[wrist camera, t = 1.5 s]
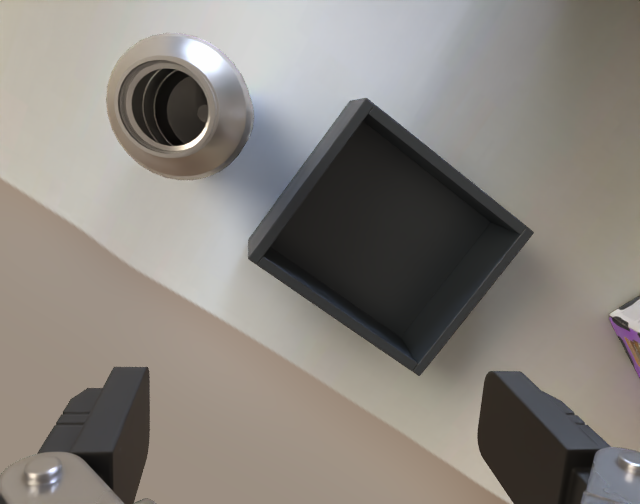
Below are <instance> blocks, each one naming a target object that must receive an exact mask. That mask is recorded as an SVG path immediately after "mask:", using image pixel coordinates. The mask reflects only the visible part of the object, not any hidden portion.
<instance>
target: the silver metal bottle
mask: <svg viewBox="0 0 640 504" xmlns="http://www.w3.org/2000/svg"><path fill="white" fill-rule="evenodd" d="M106 103H107V113H108V117H109V121H110V124H111V127H112V130H113V132H114V134H115V136H116V138H117V140H118V142H119V143H120V144H121V146H122V147H123V148H124V150H125V151H126V152H127V154H128V155H129V156H131V157H132V158H133V159H134V160H135V161H136V162H137V163H138V164H140V165H141V166H143V167H144V168H146V169H147V170H149V171H151V172H153V173H155V174H158V175H160V176H163V177H166V178H171V179H176V180H196V179H201V178H206V177H208V176H211V175H213V174H215V173H218V172H220V171H221V170H222V169H224V168H225V167H227V166H228V165H229V164H230V163H231V162H232V161H233V160H234V159H235V158H236V157H237V156H238V155H239V153H240V152H241V150H242V148H243V147H244V145H245V144H246V142H247V141H248V139H249V137H250V134H251V131H252V128H253V121H254V113H253V105H252V101H251V98H250V95H249V91H248V88H247V85H246V83H245V81H244V79H243V76H242V74H241V73H240V71H239V70H238V68H237V67H236V66H235V64H234V63H233V62H232V61H231V60H230V58H229V57H228V56H227V55H226V54H225V53H224V52H223V51H221V50H220V49H218V48H217V47H215V46H214V45H213V44H211V43H209V42H207V41H205V40H203V39H201V38H198V37H196V36H192V35H187V34H183V33H163V34H157V35H152V36H150V37H148V38H145V39H143V40H140V41H139V42H137V43H136V44H134V45H133V46H132V47H130V48H129V49H128V50H127V51H126V52H125V53H124V54H123V55H122V56H121V57H120V59H119V60H118V62H117V63H116V65H115V67H114V69H113V70H112V73H111V76H110V79H109V82H108V86H107V96H106Z"/></svg>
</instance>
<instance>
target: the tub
mask: <svg viewBox="0 0 640 504" xmlns="http://www.w3.org/2000/svg"><path fill="white" fill-rule="evenodd" d="M533 233H534V232H533V231H532V230H530V229H529V228H528V227H527V226H526V225H524V224H523V223H522V222H521V221H519V220H518V219H517V218H516V217H514V216H513V215H512V214H511V213H509V212H508V211H507V210H506V209H504V208H503V207H502V206H501V205H499V204H498V203H497V202H496V201H495V200H493V199H492V198H491V197H490V196H488V195H487V194H486V193H485V192H483V191H482V190H481V189H480V188H478V187H477V186H476V185H475V184H473V183H472V182H471V181H470V180H468V179H467V178H466V177H465V176H463V175H462V174H461V173H460V172H458V171H457V170H456V169H455V168H453V167H452V166H451V165H450V164H448V163H447V162H446V161H445V160H443V159H442V158H441V157H440V156H438V155H437V154H436V153H435V152H433V151H432V150H431V149H430V148H429V147H427V146H426V145H425V144H424V143H422V142H421V141H420V140H419V139H417V138H416V137H415V136H414V135H412V134H411V133H410V132H409V131H407V130H406V129H405V128H404V127H402V126H401V125H400V124H399V123H397V122H396V121H395V120H394V119H392V118H391V117H390V116H389V115H387V114H386V113H385V112H384V111H382V110H381V109H380V108H379V107H377V106H376V105H374V103H372V102H371V101H370V100H369V99H367V98H363V99H357V100H352V101H349V103H348V104H347V106H346V107H345V108H344V110H343V111H342V112H341V114H340V115H339V116H338V118H337V119H336V121H335V122H334V123H333V125H332V126H331V127H330V129H329V130H328V132H327V133H326V134H325V136H324V137H323V138H322V140H321V141H320V142H319V144H318V145H317V147H316V148H315V149H314V151H313V152H312V153H311V155H310V156H309V157H308V159H307V160H306V162H305V163H304V164H303V166H302V167H301V168H300V170H299V171H298V172H297V174H296V175H295V177H294V178H293V179H292V181H291V182H290V183H289V185H288V186H287V188H286V189H285V190H284V192H283V193H282V194H281V196H280V197H279V198H278V200H277V201H276V203H275V204H274V205H273V207H272V208H271V209H270V211H269V212H268V213H267V215H266V216H265V218H264V219H263V220H262V222H261V223H260V224H259V226H258V227H257V228H256V230H255V231H254V233H253V234H252V235H251V237H250V238H249V242H248V259H249V260H251V261H252V262H254V263H255V264H257V265H258V266H259V267H261V268H262V269H264V270H265V271H267V272H268V273H270V274H271V275H272V276H274V277H275V278H277V279H278V280H280V281H281V282H283V283H284V284H286V285H287V286H288V287H290V288H291V289H293V290H294V291H296V292H297V293H299V294H300V295H302V296H303V297H305V298H306V299H307V300H309V301H310V302H312V303H313V304H315V305H316V306H318V307H319V308H321V309H322V310H323V311H325V312H326V313H328V314H329V315H331V316H332V317H334V318H335V319H337V320H338V321H340V322H341V323H342V324H344V325H345V326H347V327H348V328H350V329H351V330H353V331H354V332H356V333H357V334H358V335H360V336H361V337H363V338H364V339H366V340H367V341H369V342H370V343H372V344H373V345H375V346H376V347H377V348H379V349H380V350H382V351H383V352H385V353H386V354H388V355H389V356H391V357H392V358H393V359H395V360H396V361H398V362H399V363H401V364H402V365H404V366H405V367H407V368H408V369H410V370H411V371H413V372H414V373H416V374H417V375H418V376H420V375H421V374H422V373H423V371H424V370H425V369H426V368H427V366H428V365H429V364H430V363H431V361H432V360H433V359H434V358H435V356H436V355H437V354H438V353H439V351H440V350H441V349H442V348H443V346H444V345H445V344H446V343H447V341H448V340H449V339H450V338H451V336H452V335H453V334H454V333H455V331H456V330H457V329H458V328H459V326H460V325H461V324H462V322H463V321H464V320H465V319H466V317H467V316H468V315H469V314H470V312H471V311H472V310H473V309H474V307H475V306H476V305H477V304H478V302H479V301H480V300H481V299H482V297H483V296H484V295H485V294H486V292H487V291H488V290H489V289H490V287H491V286H492V285H493V284H494V282H495V281H496V280H497V279H498V277H499V276H500V275H501V274H502V272H503V271H504V270H505V269H506V267H507V266H508V265H509V264H510V262H511V261H512V260H513V259H514V257H515V256H516V255H517V254H518V252H519V251H520V250H521V248H522V247H523V246H524V245H525V243H526V242H527V241H528V240H529V238H530V237H531V236H532V235H533Z"/></svg>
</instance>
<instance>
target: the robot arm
mask: <svg viewBox="0 0 640 504" xmlns="http://www.w3.org/2000/svg"><path fill="white" fill-rule="evenodd" d="M149 404H150V402H149V370H148V367H114V368H113V370H112V371H111V373H110V375H109V377H108V379H107V381H106V383H105V385H104V387H103V388H87V389H86V390H84V391H83V392H81V393H80V394H78V395H77V396H75V397H74V398H72V399H71V400H70V401H69V403H68V405H67V407H66V408H65V410H64V411H63V415H61V416H60V418H59V419H58V421H57V423H56V425H55V426H54V428H53V429H52V431H51V432H50V434H49V435H48V437H47V439H46V440H45V442H44V444H43V445H42V447H41V449H40V450H39V452H38V453H37V454H35V455H32V456H29V457H26V458H23V459H21V460H19V461H17V462H15V463H13V464H12V465H10V466H9V467H8V468H6V469H5V470H4V471H3V472H2V473H1V475H0V504H156V503H155V502H154V501H153V500H151V499H148V498H145V499H142V500H140V501H138V502H135V503H134V500H135V496H136V493H137V490H138V486H139V483H140V479H141V476H142V472H143V469H144V466H145V462H146V459H147V454H148V446H149V431H150V429H149V428H150V427H149V426H150V425H149V424H150V423H149V422H150V421H149V420H150V416H149V414H150V406H149ZM478 445H479V449H480V453H481V455H482V457H483V459H484V460H485V462H486V463H487V465H488V466H489V468H490V469H491V471H492V472H493V474H494V475H495V476H496V478H497V479H498V481H499V482H500V484H501V485H502V487H503V488H504V490H505V491H506V493H507V494H508V496H509V497H510V499H511V500H512V502H513V503H514V504H640V452H637V451H634V450H630V449H625V448H617V447H611V446H610V445H609V444H607V443H606V442H605V441H604V440H603V439H602V438H601V437H600V436H599V435H598V434H597V433H596V432H594V431H593V430H592V429H591V428H590V427H589V426H588V425H585V422H584V421H583V420H581V419H580V418H579V417H578V416H577V415H574V412H573V411H572V410H571V409H569V408H568V407H567V406H566V405H565V404H564V403H563V402H562V401H560V400H558V399H556V398H554V397H553V396H551V395H549V394H547V393H545V392H543V391H541V390H540V389H539V388H538V387H537V386H536V385H535V384H534V383H533V382H532V381H530V380H529V379H528V378H527V377H526V376H525V375H524V374H523V373H522V372H520V371H490V372H488V374H487V375H486V377H485V381H484V388H483V395H482V403H481V410H480V418H479V425H478Z"/></svg>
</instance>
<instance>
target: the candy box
mask: <svg viewBox="0 0 640 504" xmlns="http://www.w3.org/2000/svg"><path fill="white" fill-rule="evenodd" d="M609 320H610V322H611V324H612V326H613V328H614V330H615V332H616V334H617V336H618V338H619V340H620V341H621V343H622V344H623V347H624V348H625V351H626V353H627V355H628V357H629V359H630V360H631V362H632V364H633V366H634V368H635V370H636V372H637V374H638V376H639V378H640V296H638V297H637V298H635V299H633V300H632V301H630V302H628V303H626V304H625V305H623V306H621V307H620V308H618V309H616V310H615V311H613V312H612V313H610V314H609Z"/></svg>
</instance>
